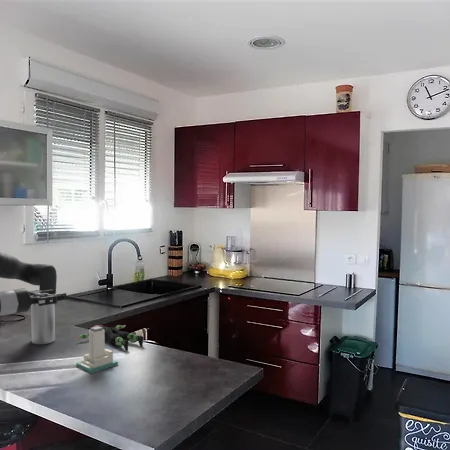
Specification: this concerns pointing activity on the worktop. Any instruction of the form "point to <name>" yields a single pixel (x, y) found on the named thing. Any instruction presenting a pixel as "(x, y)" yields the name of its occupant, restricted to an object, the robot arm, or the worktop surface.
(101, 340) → the cream rectangular block
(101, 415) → the worktop surface
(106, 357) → the green base socket
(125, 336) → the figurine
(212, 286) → the worktop surface
